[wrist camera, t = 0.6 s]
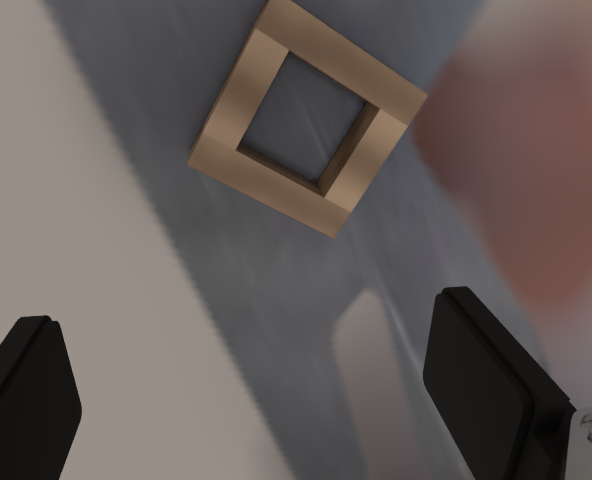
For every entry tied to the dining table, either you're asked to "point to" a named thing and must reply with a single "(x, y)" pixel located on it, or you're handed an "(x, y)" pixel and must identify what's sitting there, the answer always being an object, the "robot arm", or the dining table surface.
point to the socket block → (354, 148)
